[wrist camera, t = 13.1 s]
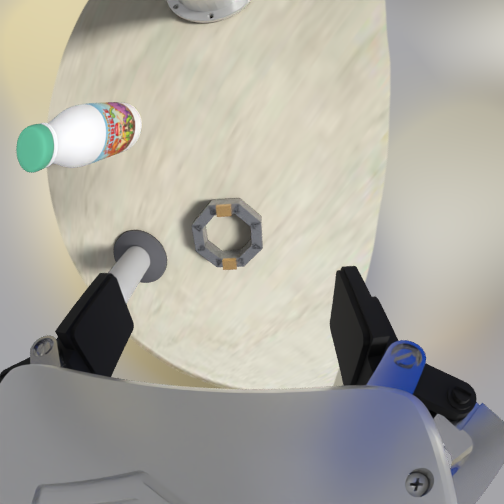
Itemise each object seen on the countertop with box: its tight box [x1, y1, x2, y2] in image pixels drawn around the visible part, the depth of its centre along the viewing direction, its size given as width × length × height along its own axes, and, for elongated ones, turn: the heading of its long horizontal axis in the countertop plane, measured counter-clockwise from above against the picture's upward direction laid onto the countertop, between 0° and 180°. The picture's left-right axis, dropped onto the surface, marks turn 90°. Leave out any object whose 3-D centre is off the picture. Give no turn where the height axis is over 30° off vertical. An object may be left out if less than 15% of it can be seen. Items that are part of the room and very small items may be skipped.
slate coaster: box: [114, 230, 167, 283], centre depth 45 cm, size 10×10×1 cm
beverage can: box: [108, 246, 150, 304], centre depth 40 cm, size 5×5×12 cm
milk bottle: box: [17, 102, 142, 172], centre depth 27 cm, size 8×8×20 cm
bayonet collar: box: [192, 198, 263, 270], centre depth 41 cm, size 10×10×3 cm
